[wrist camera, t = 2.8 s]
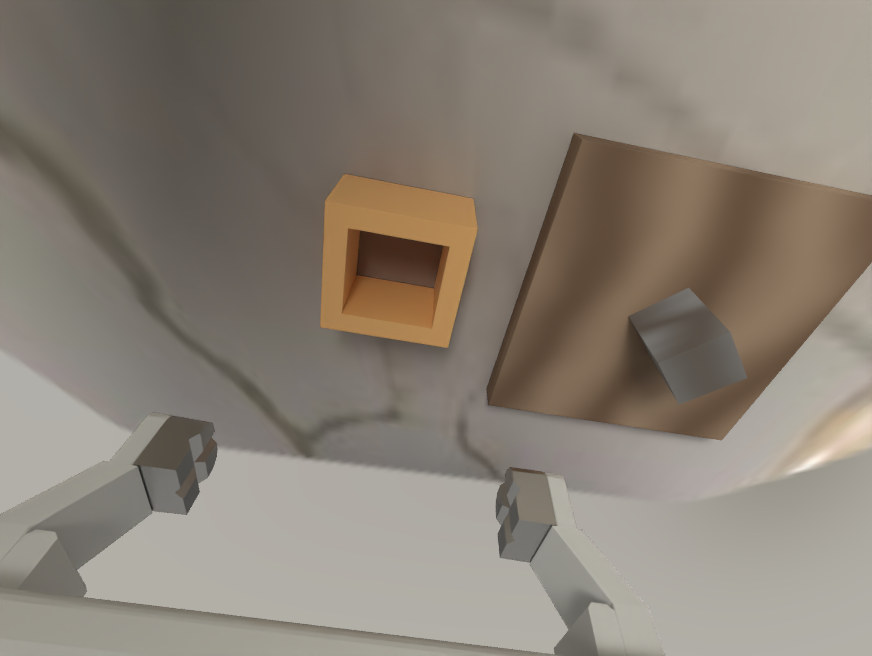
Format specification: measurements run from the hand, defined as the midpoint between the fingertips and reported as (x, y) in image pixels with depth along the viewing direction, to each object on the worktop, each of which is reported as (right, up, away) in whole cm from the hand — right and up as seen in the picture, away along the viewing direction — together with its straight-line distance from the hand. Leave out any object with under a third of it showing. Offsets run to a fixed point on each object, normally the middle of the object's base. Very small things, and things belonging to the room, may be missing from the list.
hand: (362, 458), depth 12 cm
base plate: (+15, +5, +13) cm, 20 cm away
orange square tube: (0, +8, +11) cm, 14 cm away
